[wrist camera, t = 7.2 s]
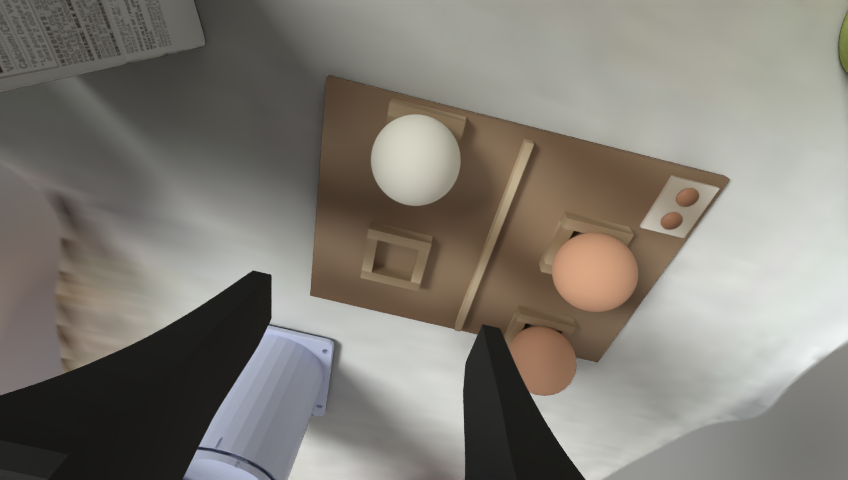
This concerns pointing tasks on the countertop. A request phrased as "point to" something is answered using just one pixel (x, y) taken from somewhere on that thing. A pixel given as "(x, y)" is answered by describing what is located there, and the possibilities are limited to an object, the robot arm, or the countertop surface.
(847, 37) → the plant pot
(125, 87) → the countertop surface
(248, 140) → the countertop surface
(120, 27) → the coffee box
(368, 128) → the board
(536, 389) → the terracotta ball
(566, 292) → the terracotta ball
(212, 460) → the robot arm
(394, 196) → the cream ball
